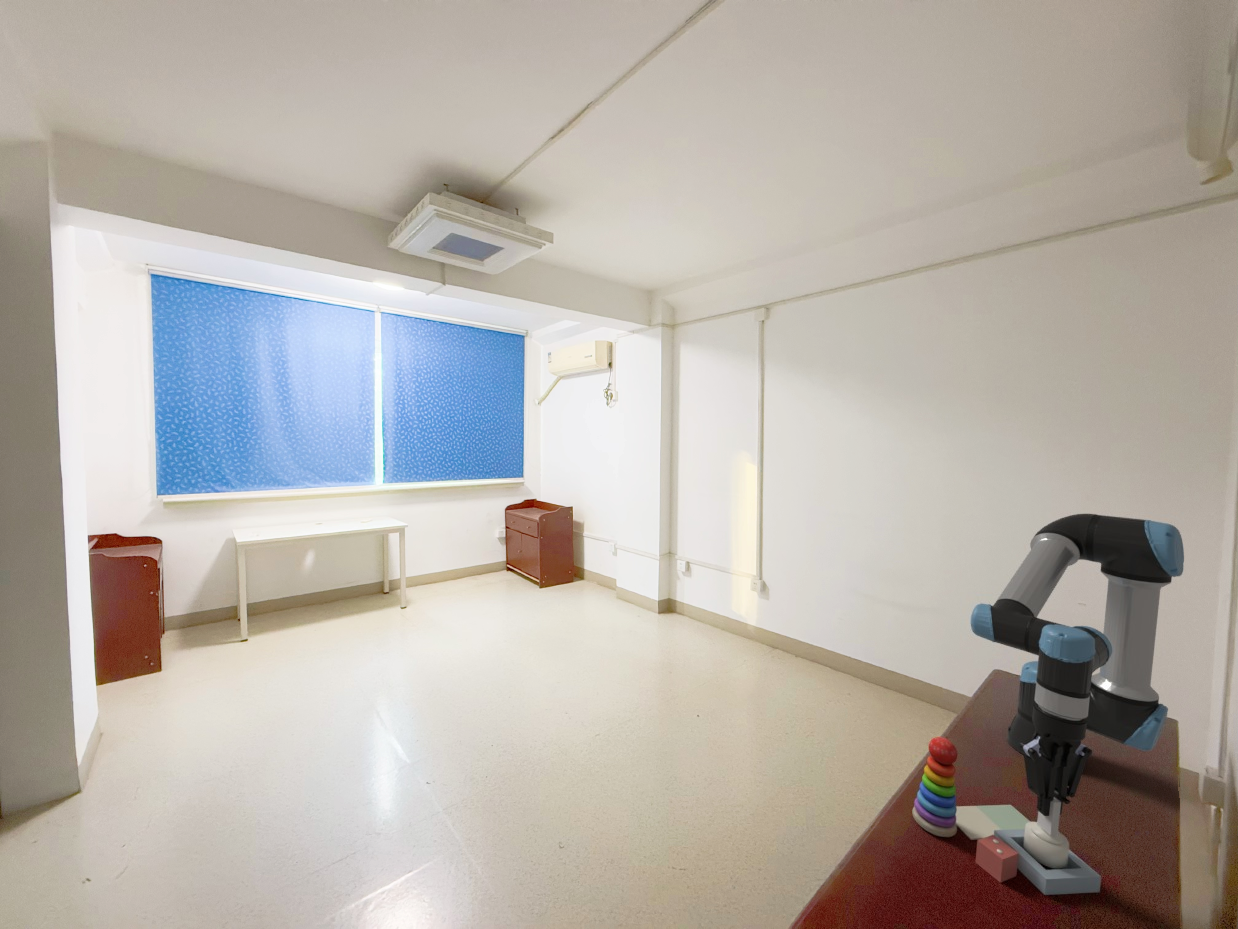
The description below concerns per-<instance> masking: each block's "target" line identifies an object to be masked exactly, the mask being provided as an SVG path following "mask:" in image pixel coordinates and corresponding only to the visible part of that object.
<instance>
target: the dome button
mask: <svg viewBox="0 0 1238 929" xmlns="http://www.w3.org/2000/svg"><path fill="white" fill-rule="evenodd" d="M1023 847H1024V849H1025V851H1026V852H1027V853H1028V854H1029V855H1030V856H1031V857H1032V858H1033V859H1035V860H1036V861H1037V862H1038V863H1039V864H1040V865H1041V864H1042V865H1044V866H1046V867H1048V868H1051V869H1053V870H1056V869H1065V868H1066V867H1067V863H1068V853H1069V850H1070V842H1069V840H1068V839H1067V837H1066V836H1065V835H1064V834H1063V833H1061V832H1060V831H1059V830H1058V835H1052V836H1050V835H1049V834H1048V833H1047V832H1046V831H1044V830H1043V829H1042V828H1041V827H1040V826H1038V825H1037V821H1030V822H1028V823H1026V825H1025V833H1024V843H1023Z"/></svg>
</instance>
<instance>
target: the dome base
mask: <svg viewBox="0 0 1238 929" xmlns="http://www.w3.org/2000/svg"><path fill="white" fill-rule="evenodd" d="M1024 833H1025V829H1012V830H994V836H996V837H997V838H999V839H1000V840H1001V841H1003V842H1004V843H1005V844H1007V845H1008V846H1009V847H1011V848H1012V849H1014V850H1015V851H1016V852H1018V853H1019V855H1018V865H1017V870H1018V871H1020V873H1022V875H1023V876H1024V877H1026V878H1027V879H1028V880H1029V881H1030V883H1031V884H1033V886H1035V888H1037V889H1038V890H1039V891H1040V892H1041V893H1042V894H1043V895H1044V896H1050V895H1052V896H1053V895H1054V896H1055V895H1069V894H1073V895H1074V894H1087V893H1091V894H1092V893H1100V892H1101V884H1102V883H1101V882H1102V876H1101V875H1100V874H1099V873H1098V872H1097V871H1095V870H1094V869H1093V868H1092V867H1091V866H1090V865H1088V864H1087V863H1086V862H1085V861H1083V860H1082V859H1081V858H1080V857H1079V856H1077V854H1075V853H1074V852H1073V851H1072V850H1071V849H1069V853H1068V863H1067V867H1066V868H1065V869H1046V868H1045V867H1043V866H1042V865H1041V863H1040V862H1038V861H1036V860H1035V859H1033V858H1032V857H1031V856H1030V855H1029V854H1028V853H1027V852H1026V851H1025V849H1024V847H1023V843H1024Z"/></svg>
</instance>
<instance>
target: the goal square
mask: <svg viewBox="0 0 1238 929" xmlns="http://www.w3.org/2000/svg"><path fill="white" fill-rule="evenodd" d="M975 806H976V807H977V808H978V809H979V810H981V811H982V812H983V813H984V814H985V815H986V816H987V817H988V818H989V819H990V820H991V821H992V822H994V823H995V824H996V825H997V826H998V827H999V828H1000V829H1001V830H1012V829H1025V825H1026V823H1028V822H1031V820H1029V819H1028V818H1027V817H1026V816H1024V815H1023V814H1022V813H1021V812H1020V811H1019V810H1017V809H1016V808H1015V807H1014V806H1013V805H1011V804H996V805H994V804H993V805H991V804H989V805H988V804H987V805H975Z"/></svg>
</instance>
